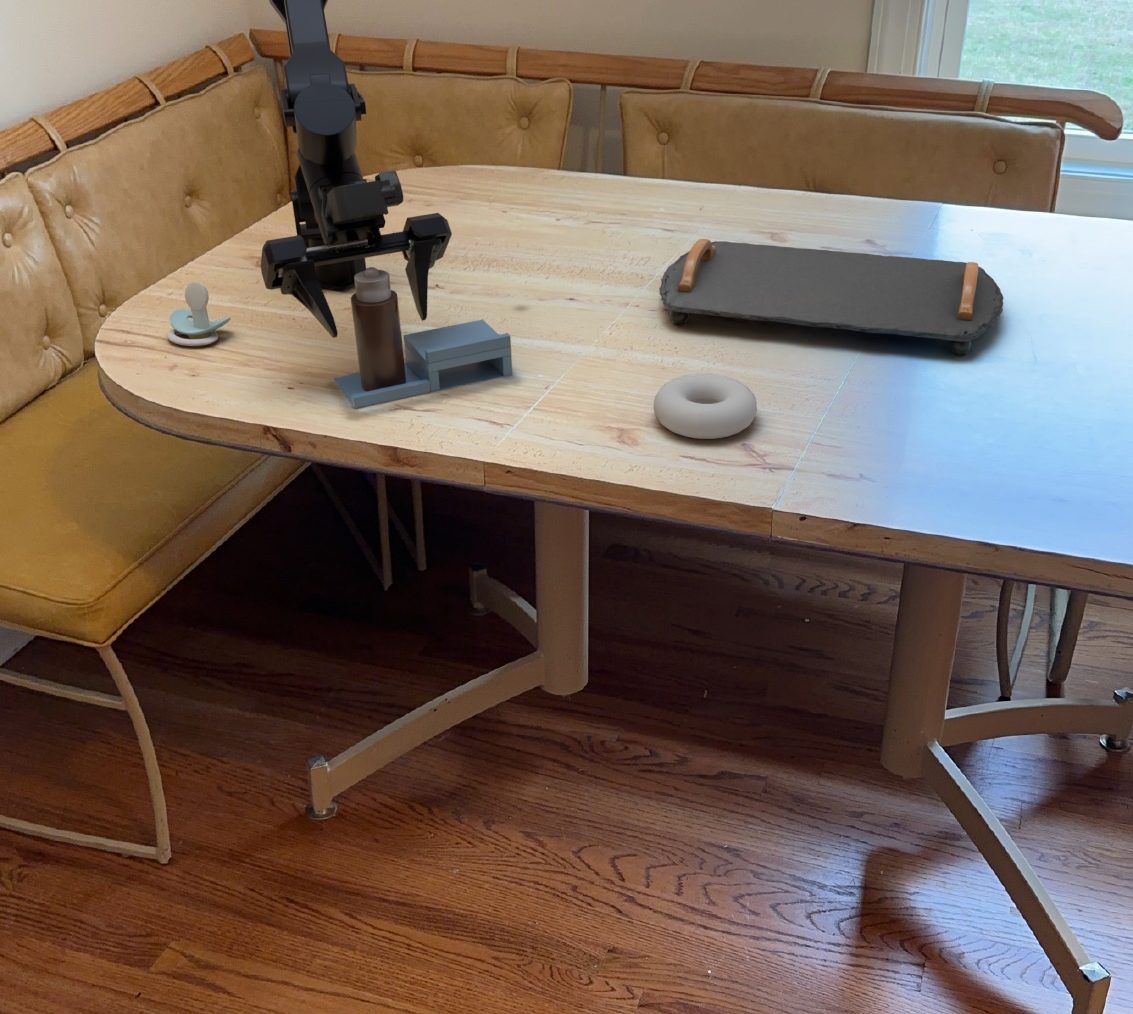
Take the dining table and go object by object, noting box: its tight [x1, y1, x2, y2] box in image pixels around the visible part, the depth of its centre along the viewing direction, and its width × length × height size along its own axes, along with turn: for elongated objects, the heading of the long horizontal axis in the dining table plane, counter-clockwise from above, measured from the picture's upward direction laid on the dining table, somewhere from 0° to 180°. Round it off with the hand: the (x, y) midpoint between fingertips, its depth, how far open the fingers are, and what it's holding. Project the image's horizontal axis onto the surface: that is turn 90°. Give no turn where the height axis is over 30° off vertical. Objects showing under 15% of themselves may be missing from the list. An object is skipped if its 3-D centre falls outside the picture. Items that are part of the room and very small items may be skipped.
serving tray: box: [659, 238, 1004, 357], centre depth 139 cm, size 39×23×6 cm, turn 72°
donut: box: [653, 373, 758, 440], centre depth 117 cm, size 10×4×10 cm
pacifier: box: [166, 281, 232, 347], centre depth 136 cm, size 7×6×6 cm
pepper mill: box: [350, 266, 406, 392], centre depth 121 cm, size 5×5×13 cm
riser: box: [333, 319, 513, 410], centre depth 125 cm, size 8×17×5 cm, turn 115°
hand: (380, 327), depth 120 cm, fingers open, 9 cm apart
